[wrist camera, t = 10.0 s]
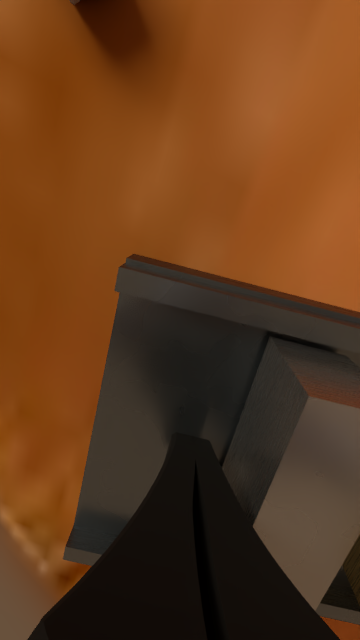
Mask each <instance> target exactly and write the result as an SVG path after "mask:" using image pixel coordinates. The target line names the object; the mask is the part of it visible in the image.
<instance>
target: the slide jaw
mask: <svg viewBox="0 0 360 640" xmlns="http://www.w3.org/2000/svg"><path fill="white" fill-rule="evenodd" d="M222 470H223V472H224V474H225V476H226V478H227V480H228V482H229V484H230V486H231V488H232V490H233V492H234V494H235V496H236V498H237V500H238V502H239V503H240V505H241V507H242V509H243V511H244V512H245V514H246V516H247V517H248V519H249V521H250V523H251V524H252V526H253V528H254V529H255V531H256V532H257V534H258V536H259V537H260V539H261V540H262V542H263V543H264V545H265V546H266V548H267V549H268V551H269V552H270V553H271V555H272V556H273V558H274V559H275V561H276V562H277V563H278V565H279V566H280V567H281V569H282V570H283V571H284V573H285V574H286V575H287V577H288V578H289V579H290V580H291V582H292V583H293V584H294V586H295V587H296V588H297V589H298V591H299V592H300V593H301V595H302V596H303V597H304V598H305V599H306V601H307V602H308V603H309V604H310V605H311V607H312V608H313V609H314V610H316V609H317V607H318V605H319V604H320V602H321V600H322V598H323V597H324V595H325V593H326V591H327V590H328V588H329V586H330V585H331V583H332V581H333V579H334V578H335V576H336V574H337V573H338V571H339V569H340V567H341V566H342V564H343V562H344V561H345V559H346V557H347V555H348V554H349V552H350V550H351V549H352V547H353V545H354V543H355V542H356V540H357V538H358V536H359V535H360V368H359V367H358V366H357V365H356V364H355V363H354V362H353V361H352V360H350V359H349V358H348V357H347V356H345V355H341V354H337V353H333V352H329V351H326V350H322V349H318V348H314V347H310V346H306V345H302V344H298V343H294V342H290V341H286V340H282V339H278V338H274V337H269V340H268V343H267V346H266V348H265V351H264V354H263V357H262V359H261V362H260V365H259V367H258V370H257V373H256V376H255V378H254V381H253V384H252V387H251V389H250V392H249V395H248V398H247V400H246V403H245V406H244V409H243V411H242V414H241V417H240V420H239V422H238V425H237V428H236V430H235V433H234V436H233V439H232V441H231V444H230V447H229V450H228V452H227V455H226V458H225V461H224V463H223V466H222Z"/></svg>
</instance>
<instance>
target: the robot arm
mask: <svg viewBox="0 0 360 640" xmlns="http://www.w3.org/2000/svg"><path fill="white" fill-rule="evenodd" d="M28 640H340V639H339V638H338V637H337V635H336V634H335V633H334V632H333V631H332V630H331V629H330V628H329V626H328V625H327V624H326V623H325V622H324V621H323V620H322V618H321V617H320V616H319V615H318V614H317V613H316V612H315V610H314V609H313V608H312V607H311V605H310V604H309V603H308V602H307V601H306V599H305V598H304V597H303V596H302V595H301V593H300V592H299V591H298V589H297V588H296V587H295V586H294V584H293V583H292V582H291V580H290V579H289V578H288V577H287V575H286V574H285V573H284V571H283V570H282V569H281V567H280V566H279V565H278V563H277V562H276V561H275V559H274V558H273V556H272V555H271V553H270V552H269V551H268V549H267V548H266V546H265V545H264V543H263V542H262V540H261V539H260V537H259V536H258V534H257V532H256V531H255V529H254V528H253V526H252V524H251V523H250V521H249V519H248V517H247V516H246V514H245V512H244V511H243V509H242V507H241V505H240V503H239V502H238V500H237V498H236V496H235V494H234V492H233V490H232V488H231V486H230V484H229V482H228V480H227V478H226V476H225V474H224V472H223V470H222V467H221V465H220V463H219V461H218V459H217V456H216V454H215V452H214V449H213V447H212V445H211V443H210V441H209V440H207V439H202V438H198V437H194V436H190V435H186V434H182V433H178V432H176V433H174V434H172V436H171V440H170V443H169V446H168V450H167V453H166V457H165V460H164V463H163V466H162V468H161V470H160V472H159V474H158V476H157V478H156V480H155V481H154V483H153V485H152V486H151V488H150V490H149V492H148V493H147V495H146V497H145V498H144V500H143V501H142V503H141V504H140V506H139V507H138V509H137V510H136V512H135V513H134V515H133V516H132V518H131V519H130V520H129V522H128V523H127V524H126V526H125V527H124V528H123V530H122V531H121V532H120V534H119V535H118V536H117V538H116V539H115V540H114V541H113V543H112V544H111V545H110V546H109V547H108V549H107V550H106V551H105V552H104V553H103V554H102V556H101V557H100V558H99V559H98V560H97V561H96V562H95V564H94V565H93V566H92V567H91V568H90V569H89V570H88V571H87V573H86V574H85V575H84V576H83V577H82V578H81V579H80V580H79V581H78V582H77V583H76V584H75V586H74V587H73V588H72V589H71V590H69V591H68V592H67V593H66V594H65V595H64V596H63V597H62V598H61V599H60V600H59V601H58V602H57V603H56V604H55V605H54V606H53V607H52V608H51V609H50V611H48V612H47V613H46V614H45V615H44V616H43V618H42V619H41V621H40V623H39V624H38V625H37V627H36V628H35V630H34V631H33V632H32V634H31V635H30V637H29V638H28Z"/></svg>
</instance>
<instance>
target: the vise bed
mask: <svg viewBox="0 0 360 640" xmlns="http://www.w3.org/2000/svg"><path fill="white" fill-rule="evenodd" d="M115 291H117V292H120V294H119V299H118V304H117V309H116V314H115V319H114V325H113V330H112V335H111V340H110V345H109V350H108V355H107V360H106V365H105V370H104V375H103V380H102V385H101V390H100V395H99V401H98V406H97V411H96V416H95V421H94V426H93V431H92V436H91V441H90V446H89V451H88V456H87V461H86V466H85V471H84V477H83V482H82V487H81V492H80V497H79V502H78V507H77V512H76V517H75V522H74V526H73V529H72V531H71V534H70V536H69V539H68V542H67V544H66V547H65V552H64V557H63V559H64V560H68V561H73V562H77V563H82V564H86V565H91V566H93V565H94V564H95V562H96V561H97V560H98V559H99V558H100V557H101V556H102V554H103V553H104V552H105V551H106V550H107V549H108V547H109V546H110V545H111V544H112V543H113V541H114V540H115V539H116V538H117V536H118V535H119V534H120V532H121V531H122V530H123V528H124V527H125V526H126V524H127V523H128V522H129V520H130V519H131V518H132V516H133V515H134V513H135V512H136V510H137V509H138V507H139V506H140V504H141V503H142V501H143V500H144V498H145V497H146V495H147V493H148V492H149V490H150V488H151V486H152V485H153V483H154V481H155V480H156V478H157V476H158V474H159V472H160V470H161V468H162V466H163V463H164V460H165V457H166V453H167V450H168V446H169V443H170V440H171V436H172V434H174V433H176V432H178V433H182V434H186V435H190V436H194V437H198V438H202V439H207V440H209V441H210V443H211V445H212V447H213V449H214V452H215V454H216V456H217V459H218V461H219V463H220V465H221V467H222V466H223V463H224V461H225V458H226V455H227V452H228V450H229V447H230V444H231V441H232V439H233V436H234V433H235V430H236V428H237V425H238V422H239V420H240V417H241V414H242V411H243V409H244V406H245V403H246V400H247V398H248V395H249V392H250V389H251V387H252V384H253V381H254V378H255V376H256V373H257V370H258V367H259V365H260V362H261V359H262V357H263V354H264V351H265V348H266V346H267V343H268V340H269V337H274V338H278V339H282V340H286V341H290V342H294V343H298V344H302V345H306V346H310V347H314V348H318V349H322V350H326V351H329V352H333V353H337V354H341V355H345V356H347V357H348V358H349V359H350V360H352V361H353V362H354V363H355V364H356V365H357V366H358V367H359V368H360V312H356V311H352V310H348V309H344V308H341V307H337V306H333V305H329V304H325V303H321V302H317V301H314V300H310V299H306V298H302V297H298V296H294V295H290V294H287V293H283V292H279V291H275V290H271V289H267V288H263V287H260V286H256V285H252V284H248V283H244V282H240V281H237V280H233V279H229V278H225V277H221V276H217V275H213V274H210V273H206V272H202V271H198V270H194V269H190V268H186V267H183V266H179V265H175V264H171V263H167V262H163V261H159V260H156V259H152V258H148V257H144V256H140V255H136V254H133V255H131V256H129V257H127V259H126V263H125V264H123V265H121V266H120V267H119V270H118V275H117V281H116V286H115ZM315 612H316V613H317V614H318V615H319V616H322V617H327V618H331V619H336V620H340V621H345V622H349V623H354V624H359V625H360V606H359V603H358V601H357V599H356V596H355V594H354V592H353V589H352V587H351V585H350V582H349V580H348V578H347V576H346V573H345V571H344V569H343V566H341V567H340V569H339V571H338V573H337V574H336V576H335V578H334V579H333V581H332V583H331V585H330V586H329V588H328V590H327V591H326V593H325V595H324V597H323V598H322V600H321V602H320V604H319V605H318V607H317V609H316V610H315Z"/></svg>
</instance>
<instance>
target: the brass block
mask: <svg viewBox="0 0 360 640" xmlns="http://www.w3.org/2000/svg"><path fill="white" fill-rule="evenodd" d="M342 566H343V569H344V571H345V573H346V576H347V578H348V580H349V582H350V585H351V587H352V589H353V592H354V594H355V596H356V599H357V601H358V603H359V606H360V535H359V536H358V538H357V540H356V542H355V543H354V545H353V547H352V549H351V550H350V552H349V554H348V555H347V557H346V559H345V561H344V562H343V564H342Z"/></svg>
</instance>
